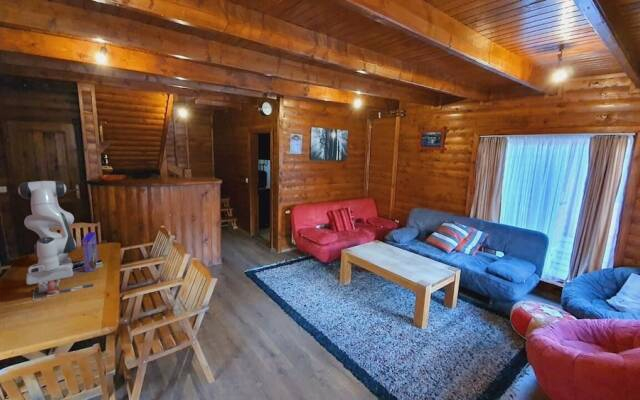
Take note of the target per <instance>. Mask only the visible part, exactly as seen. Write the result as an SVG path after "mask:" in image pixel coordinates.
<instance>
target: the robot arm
mask: <svg viewBox="0 0 640 400" xmlns="http://www.w3.org/2000/svg"><path fill="white" fill-rule="evenodd" d="M17 190H18V194H19V196H20V197H22V198H24V199H26V200H30V208H31V214H30V215H27V216H26V217H25V218H24V222H23V223H24V226H25V227H26V228H27V229H28V230H30V231H33V232H35V233H36V234H37V235H38V236H39V239H37V241H36V243H35V244H34V245H33V249H34V250H33V251H34V255H35V256H36V257H37V258H38V260H37V263H34V264H32V265H30V266H28V269H27V271H28V272H27V273H26V280H25V281H26V283H25V284H26V285H29V286H30V285H34V284H39V283H41V282H42V285H44V286H45V289H46V288H49V287H48V284H47V285H46V284H45V282H46V281H51V280H55V281H57V282H55V287H56V288H57V287H59V285H60V284H59V283H60V282H61V279H66V278H72V277H73V276H74V269H73V268H74V264H73V259H71V258H70V256H69V254H71V253H72V252H74V251H75V250H76V248H77V243H76V240H75V239H74V237H73V234H72V231H71V228H70V226H71V225H72V224H73V223H74V221H75V217H74V215H73V214H72V213H71V212H69V211H66V210H65V209H63V208H62V207H60V204H59V201H58V198H59V197H63V196H65V194H66V192H67V186H66V184H65V183H64V182H63V181H61V180H40V181H38V180H37V181H26V182H21V183H20V184H19V186H18V189H17ZM56 228H57V229H58V228H60V230H61V232H62V233H60V232H57V231H54V230H51V229H56Z"/></svg>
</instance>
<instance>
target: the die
mask: <svg viewBox="0 0 640 400" xmlns="http://www.w3.org/2000/svg"><path fill="white" fill-rule="evenodd" d="M45 284H46V285H47V284H48V282H47V281H46V282H45ZM37 285H38V286H37V287H39V293H40V292H45V291H48V290H49V288H46V289H45V286H44V285H42V282H41V283H38V284H37Z"/></svg>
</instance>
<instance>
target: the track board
mask: <svg viewBox="0 0 640 400" xmlns="http://www.w3.org/2000/svg"><path fill="white" fill-rule="evenodd" d="M91 287H92V288H93V287H94V283H90V284H84V285H80V286H76V287H75V286H74V287H71V288H66V289H61V290H57V291H56V292H54V293H45V294H41V295H37V296H33V295H32V301H33V300H34V301H38V300H42V299H45V298H46V297H51V296H52V297H53V296H55V295H59V294H64V293H69V292H74V291H78V290H82V289H88V288H91Z"/></svg>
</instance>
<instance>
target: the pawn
mask: <svg viewBox="0 0 640 400" xmlns="http://www.w3.org/2000/svg"><path fill="white" fill-rule="evenodd" d="M55 281H56V280H51V281H47V282H48V287H49V290H48V293H54V292H56V291H58V289H57V286H56V287H55V283H56V282H55Z"/></svg>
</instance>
